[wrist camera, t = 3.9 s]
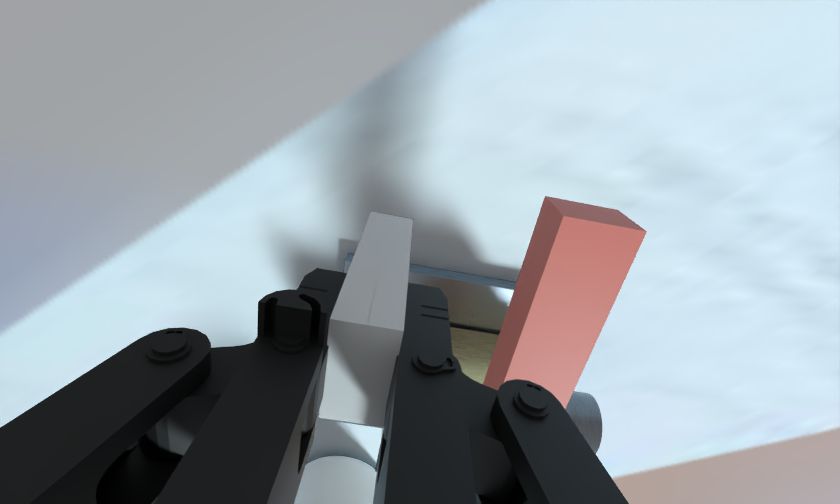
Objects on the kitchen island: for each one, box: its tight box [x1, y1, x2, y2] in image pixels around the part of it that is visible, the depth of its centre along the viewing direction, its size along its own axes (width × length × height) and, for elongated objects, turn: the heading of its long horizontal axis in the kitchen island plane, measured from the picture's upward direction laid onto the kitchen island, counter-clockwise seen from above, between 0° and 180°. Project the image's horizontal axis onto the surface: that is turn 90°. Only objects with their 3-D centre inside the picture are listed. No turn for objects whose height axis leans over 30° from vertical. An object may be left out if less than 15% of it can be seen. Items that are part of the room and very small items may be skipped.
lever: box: [483, 196, 647, 409], centre depth 17 cm, size 17×3×4 cm, turn 169°
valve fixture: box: [322, 253, 602, 454], centre depth 26 cm, size 18×14×10 cm
